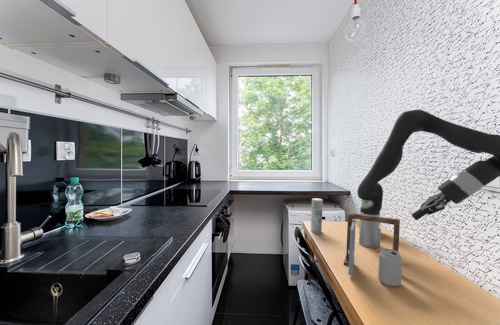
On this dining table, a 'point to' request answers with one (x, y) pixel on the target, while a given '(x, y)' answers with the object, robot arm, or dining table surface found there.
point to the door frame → (374, 219)
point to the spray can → (316, 215)
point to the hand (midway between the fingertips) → (413, 217)
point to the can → (390, 267)
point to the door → (351, 247)
